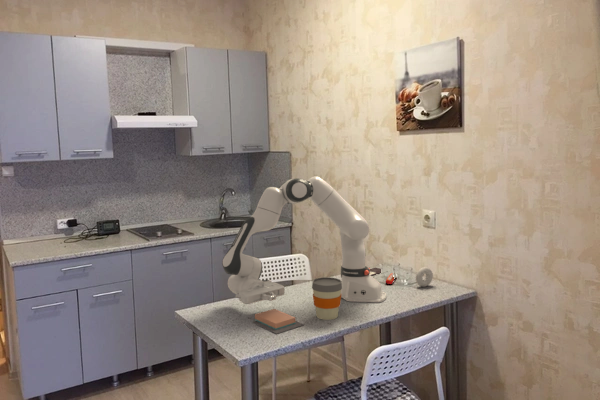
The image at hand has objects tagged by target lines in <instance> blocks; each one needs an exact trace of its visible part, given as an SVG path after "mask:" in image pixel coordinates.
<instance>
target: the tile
mask: <svg viewBox="0 0 600 400" xmlns="http://www.w3.org/2000/svg"><path fill="white" fill-rule="evenodd" d="M254 321H258V322H260V323H262V324H264V325H267V326H269V327H271V328H273V329H275V330H277V329H280V328H283V327H286V326H289V325H292V324H296V323H295V321H296V317H295V316H292V315H290V314H288V313H286V312H283V311H281V310H278V309H276V308H272V309H268V310H265V311H261V312H258V313H255V314H254Z"/></svg>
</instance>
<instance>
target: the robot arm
mask: <svg viewBox="0 0 600 400" xmlns="http://www.w3.org/2000/svg"><path fill="white" fill-rule="evenodd" d="M307 199H308V200H310V201H311V202H312V203H314V205H316V207H317V208H318V209H319V210H320V211H321V212H323V214H324V215H325V216H326V217H327V218H328V219H329V220H330V221H332V223H333V224H335V226H337V228H339V232H340V233H339V236H340V244H341V265H340V278H341V279H340V280H341V282H342V289H341V299H344V300H345V301H347V302H353V303H357V302H358V303H359V302H360V303H382V302H384V301H385V300H386V299H387V297H388V296H387V293H386V292H384V291H382V285H381V283H380V282H379V280H377V279H376V278H374V276H371V275H369V274H370V269H371V268H370V267H367V266H366V247H365V238H367V237H368V235H369V232H370V227H369V223H368V221H367V220H366V219H365V217H363V216H362V215H361V214H360V213H359V212H358V211H357V210H356V209H355V208H353V206H352V205H350V203H349V202H348V201H346V200H345V199H344V197H342V196H341V194H340V193H339V192H338V191H337V190H336V189H335V188H334V187H332V186H331V184H329V182H327V181H325V180H324V179H322V178H321V177H320V176H316V175H314V176H312V177H310V178H308V179H307V180H306V179H303V178H296V177H295V178H291V179H288V180H286V181H285V182H283V183H282V184H281V185H280V186H278V187H276V186H269V187H267V188H265V189H264V191H263V193H262V195H261V197H260V198H259V201H258V202H257V206H256V208H255V211H254V212H253V213H252V214H251V216H249V217H247V218H246V219H245V220H244V221H243V223H242V225H241V227H239V228H240V229H239V231H238V232H237V234H236V236H235V238H234V239H233V242H232V243H231V245H230V247H229V249H228V250H227V252H226V253H225V254H224V256H223V258H222V260H221V264H222V268H223V271H224V272H225V273H226V274H228V275H230V276H229V277H228V280H227V286H228V289H229V290H230V292H232V293H233V294H235V299H239V300H238V301H239V302H241V303H242V304H244V305H250V304H255V303H259V302H262V301H269V302H271V301H276V300H277V297H281V296H284V295H285V291H286V290H285V286H284V285H283V284H280V283H278V282H275V281H272V280H271V279H260V278H261V276H262V273H263V262H262V261H261V259H260V258H258V257H256V256H255V257H254V256H251V255H248V254H245V253H243V251H244V250H245V248H246V245H247V244H248V241H249V239H250V237H252V235H254V234H256V233H260V232H261V233H262V232H269V231H270V230H272V229H274V228H275V227H276V226H277V225H278V222H279V219H280V217H281V213H282V210H283V208H284V206H285V205H286V204H298V203H303V202H304V201H306V200H307Z"/></svg>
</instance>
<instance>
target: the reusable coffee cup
mask: <svg viewBox="0 0 600 400" xmlns="http://www.w3.org/2000/svg"><path fill="white" fill-rule="evenodd" d="M311 289H312V291H313V293H312V300H313V305H314V307H315V313H316V315H315V316H316V317H317V318H318V319H319V320H326V321H330V320H335V319H337V318H338V317H339V309H340V306H341V303H342V302H341V301H342V298H341V289H342V282H341V279H339V278H335V277H330V276H329V277H328V276H327V277H325V276H324V277H317V278H315V279H313V280H312V284H311Z"/></svg>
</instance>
